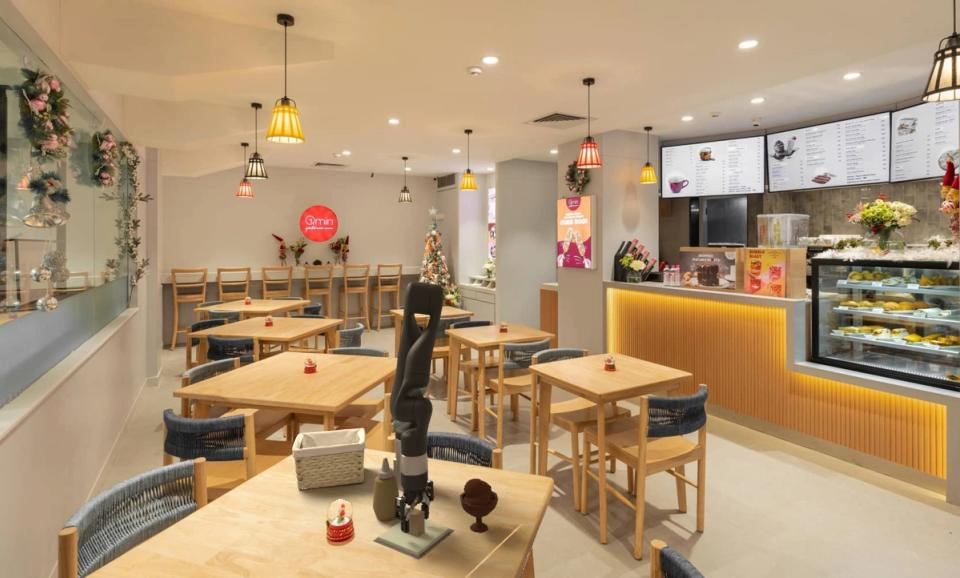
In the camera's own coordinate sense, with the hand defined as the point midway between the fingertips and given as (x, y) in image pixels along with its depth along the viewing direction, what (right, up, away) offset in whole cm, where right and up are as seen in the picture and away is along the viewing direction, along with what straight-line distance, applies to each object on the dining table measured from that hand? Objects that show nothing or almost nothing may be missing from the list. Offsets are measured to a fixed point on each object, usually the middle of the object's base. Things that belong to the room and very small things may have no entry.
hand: (415, 525), depth 144 cm
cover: (0, -3, 0) cm, 3 cm away
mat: (0, -4, 0) cm, 4 cm away
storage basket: (-34, -1, +38) cm, 51 cm away
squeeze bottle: (-10, -3, +11) cm, 15 cm away
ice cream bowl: (+18, -3, +4) cm, 18 cm away
